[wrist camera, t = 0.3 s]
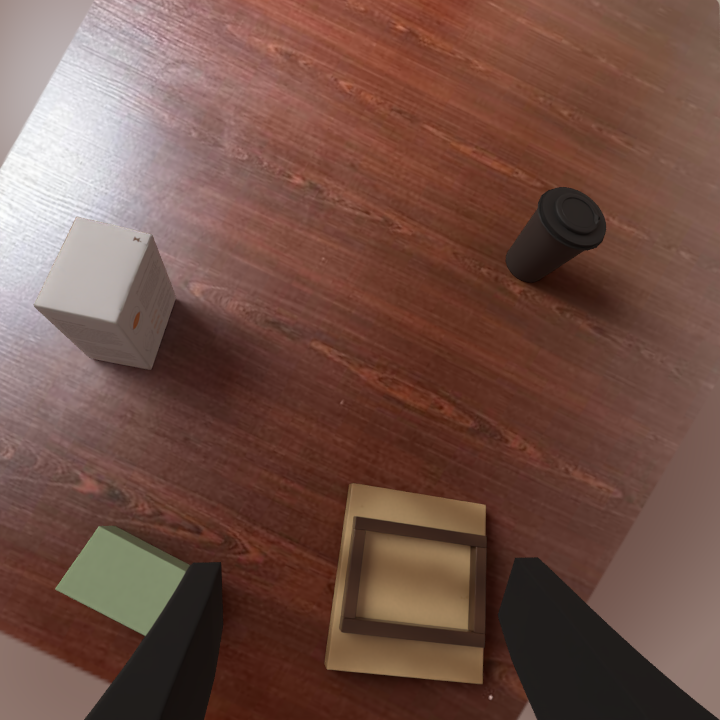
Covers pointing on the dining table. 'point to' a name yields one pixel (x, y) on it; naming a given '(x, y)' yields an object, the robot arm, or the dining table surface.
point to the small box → (109, 293)
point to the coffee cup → (556, 234)
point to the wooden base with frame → (410, 587)
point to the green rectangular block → (123, 578)
